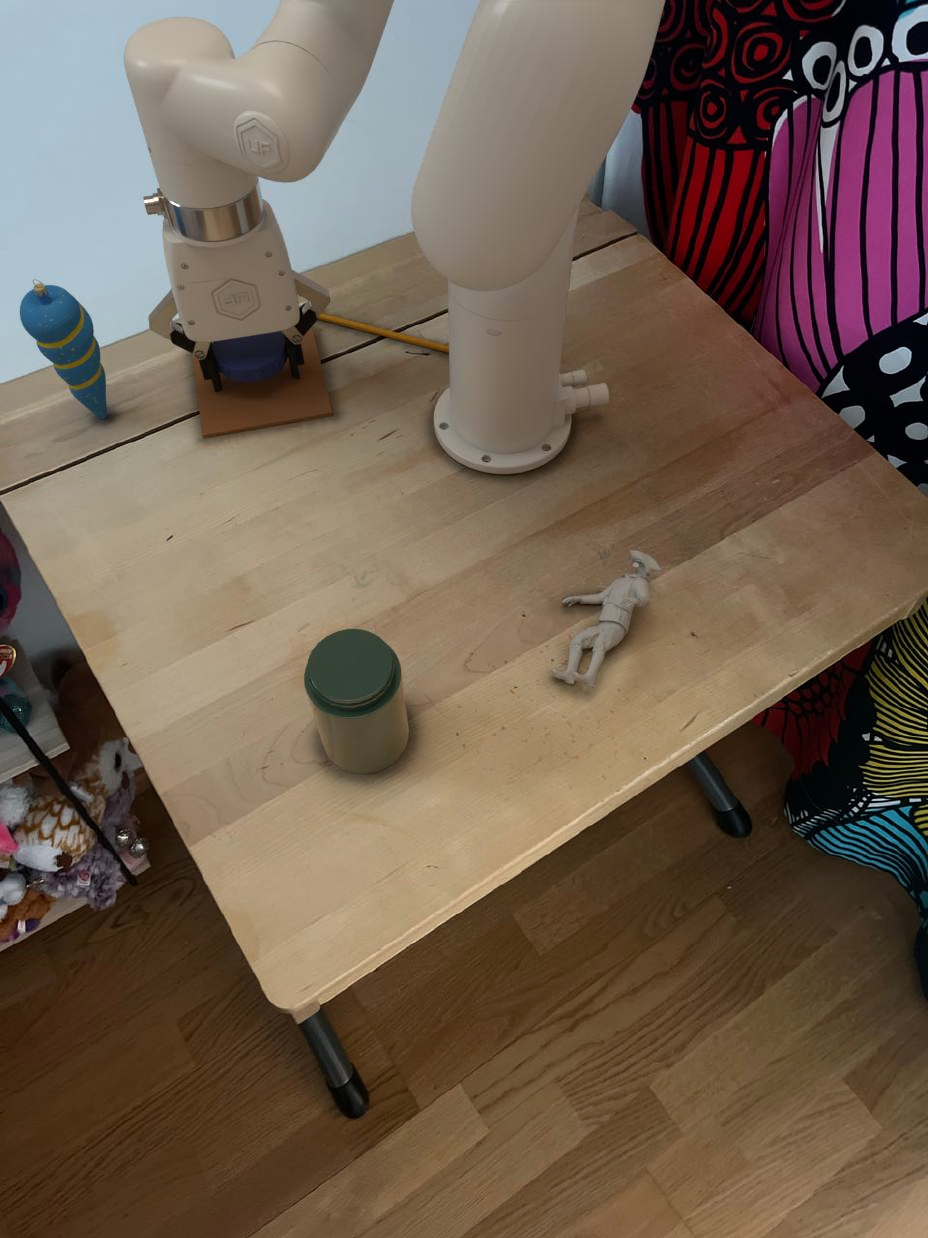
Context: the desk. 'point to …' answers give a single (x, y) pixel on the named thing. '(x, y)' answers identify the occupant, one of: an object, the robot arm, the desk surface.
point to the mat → (264, 397)
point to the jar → (357, 700)
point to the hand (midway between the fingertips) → (256, 374)
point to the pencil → (384, 332)
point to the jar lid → (251, 356)
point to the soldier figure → (609, 618)
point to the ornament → (67, 342)
